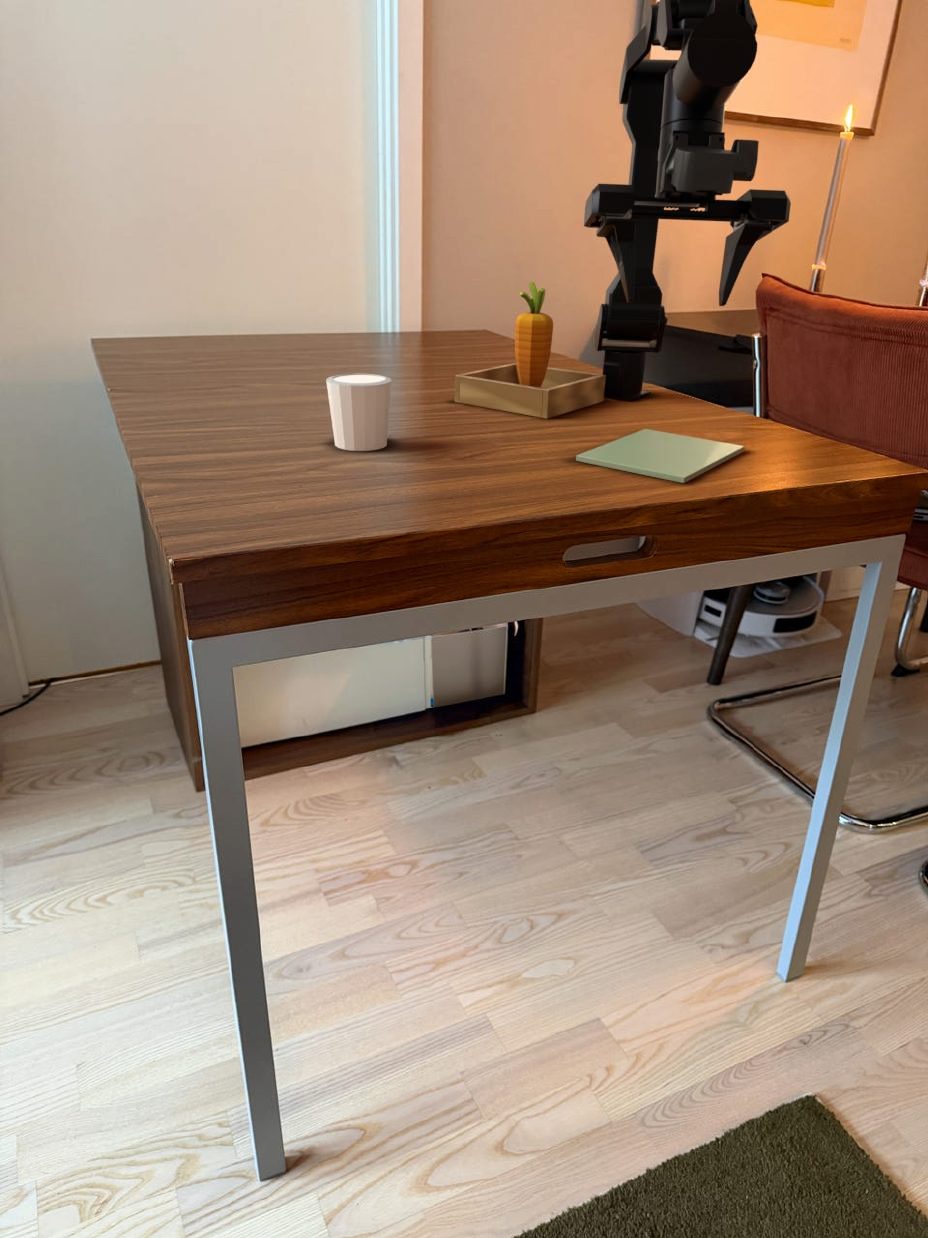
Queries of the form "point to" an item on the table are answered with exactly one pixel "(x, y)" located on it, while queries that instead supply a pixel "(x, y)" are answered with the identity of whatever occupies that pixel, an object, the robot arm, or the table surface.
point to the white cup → (359, 410)
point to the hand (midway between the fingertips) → (676, 303)
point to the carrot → (533, 340)
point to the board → (661, 455)
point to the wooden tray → (529, 391)
